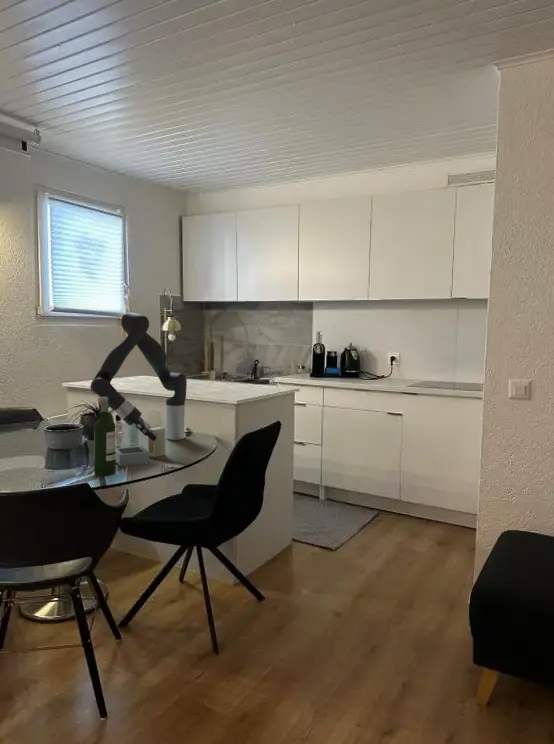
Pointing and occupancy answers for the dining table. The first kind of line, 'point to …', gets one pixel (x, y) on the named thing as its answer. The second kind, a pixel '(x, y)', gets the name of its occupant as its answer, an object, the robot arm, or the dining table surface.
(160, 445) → the skincare box
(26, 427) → the dining table surface
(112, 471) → the wine bottle
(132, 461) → the ceramic holder
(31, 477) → the dining table surface
